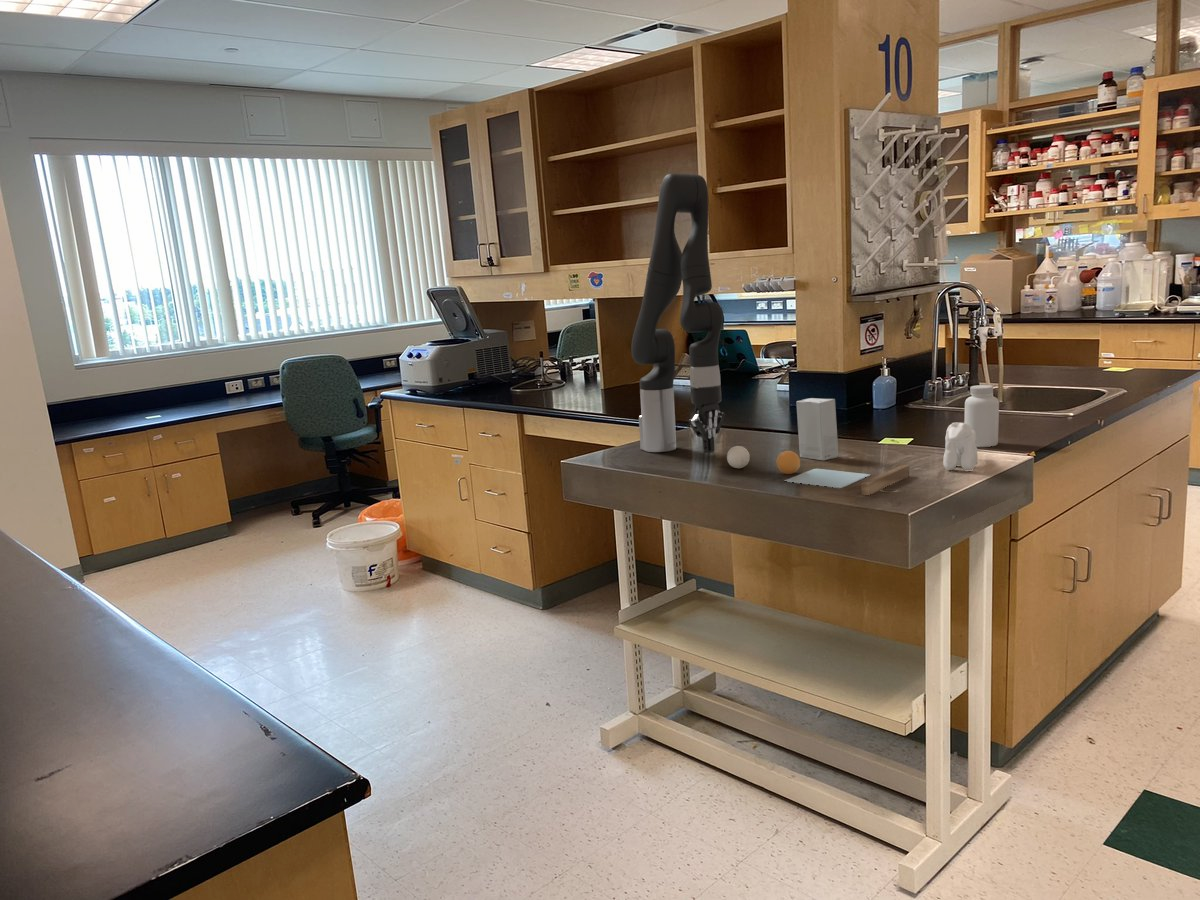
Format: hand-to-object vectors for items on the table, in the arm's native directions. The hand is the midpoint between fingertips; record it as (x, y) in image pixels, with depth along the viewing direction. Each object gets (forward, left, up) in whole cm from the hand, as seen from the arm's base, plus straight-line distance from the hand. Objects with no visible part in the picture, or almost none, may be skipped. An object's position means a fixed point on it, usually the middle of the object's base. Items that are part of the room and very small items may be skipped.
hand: (709, 452), depth 219 cm
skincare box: (+20, +19, -3) cm, 28 cm away
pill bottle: (+49, +50, -3) cm, 70 cm away
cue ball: (+9, 0, 0) cm, 9 cm away
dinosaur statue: (+54, +23, -3) cm, 59 cm away
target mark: (+33, 0, -3) cm, 33 cm away
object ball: (+23, 0, 0) cm, 23 cm away
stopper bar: (+47, 0, -3) cm, 47 cm away
